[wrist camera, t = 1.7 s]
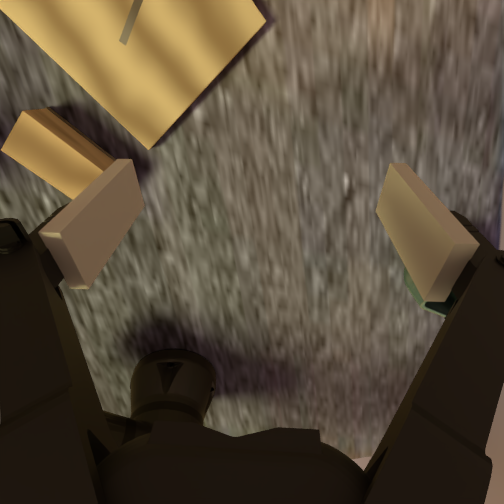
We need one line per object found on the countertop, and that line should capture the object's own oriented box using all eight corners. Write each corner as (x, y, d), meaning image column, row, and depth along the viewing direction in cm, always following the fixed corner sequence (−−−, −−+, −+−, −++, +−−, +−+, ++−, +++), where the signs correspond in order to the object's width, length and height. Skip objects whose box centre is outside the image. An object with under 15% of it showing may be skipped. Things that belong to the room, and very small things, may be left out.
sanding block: (107, 199, 38) (92, 213, 34) (28, 142, 34) (-1, 150, 30) (130, 169, 36) (116, 180, 32) (50, 106, 32) (22, 109, 28)
